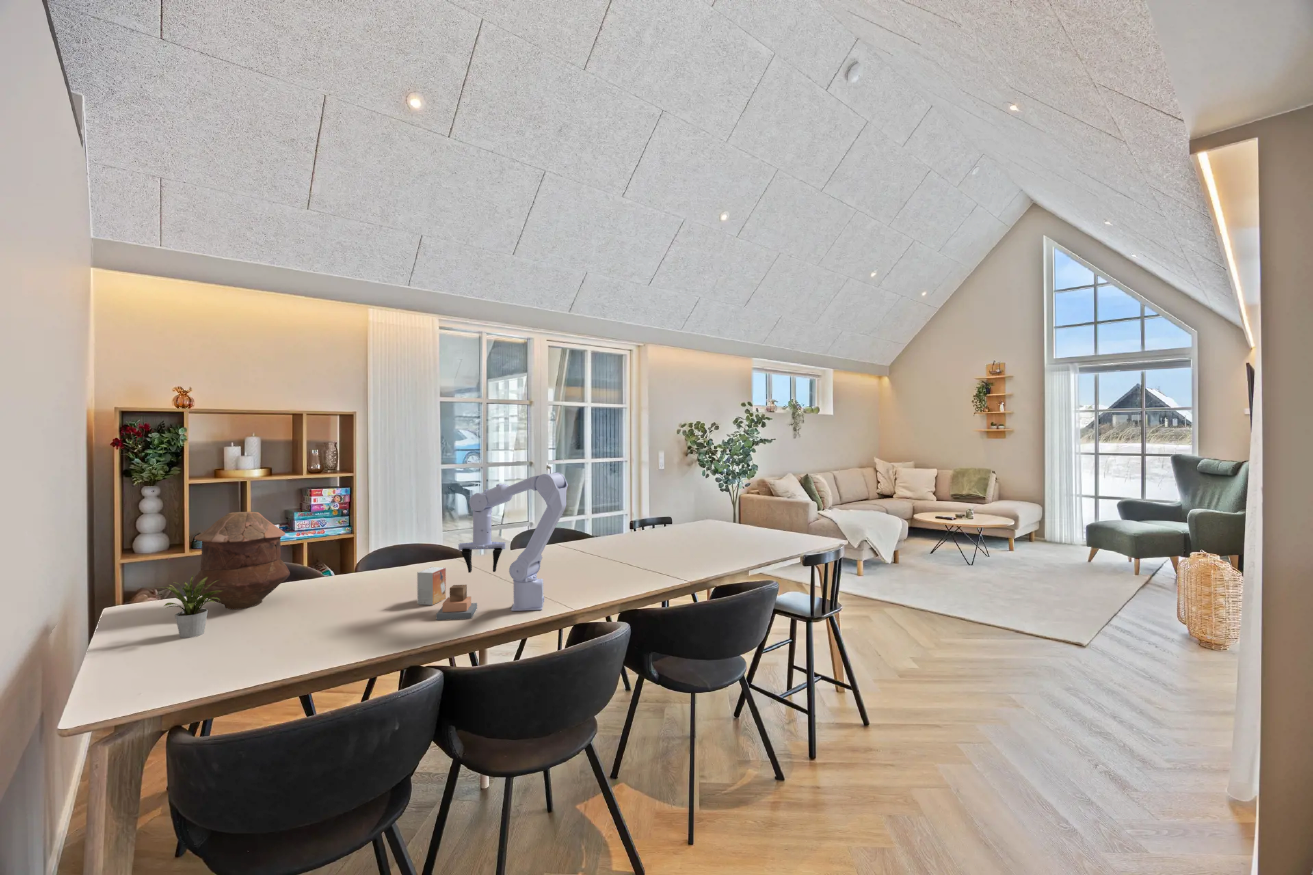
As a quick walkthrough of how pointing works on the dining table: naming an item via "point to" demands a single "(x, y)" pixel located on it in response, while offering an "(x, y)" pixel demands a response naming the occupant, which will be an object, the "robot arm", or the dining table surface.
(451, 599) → the walnut cube
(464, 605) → the terracotta tile
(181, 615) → the house plant
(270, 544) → the pottery vessel
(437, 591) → the small box
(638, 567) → the dining table surface
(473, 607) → the slate tile
